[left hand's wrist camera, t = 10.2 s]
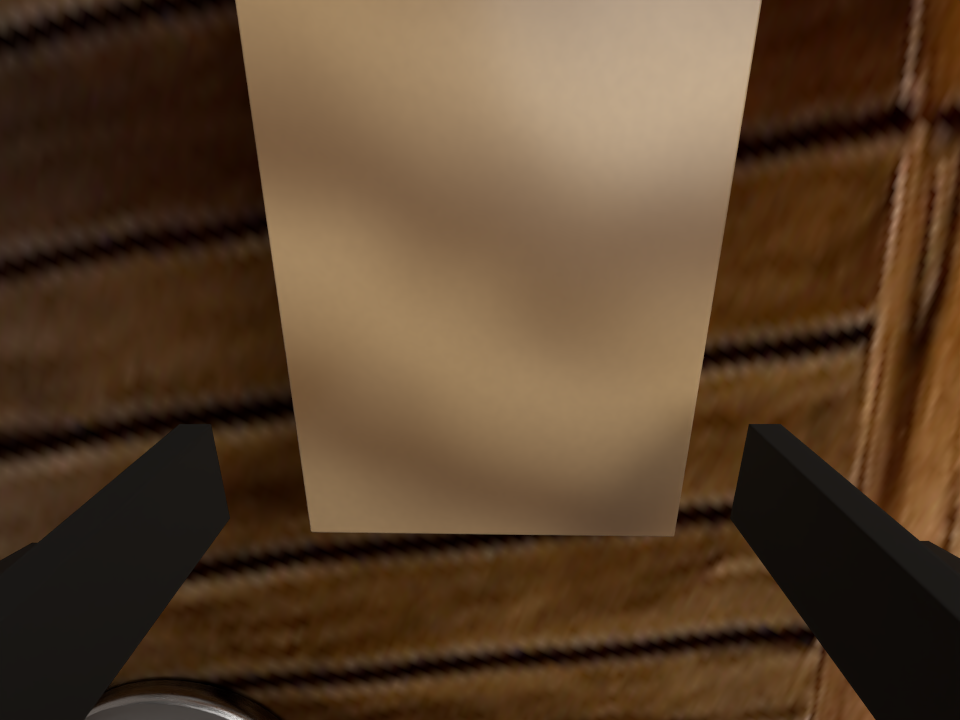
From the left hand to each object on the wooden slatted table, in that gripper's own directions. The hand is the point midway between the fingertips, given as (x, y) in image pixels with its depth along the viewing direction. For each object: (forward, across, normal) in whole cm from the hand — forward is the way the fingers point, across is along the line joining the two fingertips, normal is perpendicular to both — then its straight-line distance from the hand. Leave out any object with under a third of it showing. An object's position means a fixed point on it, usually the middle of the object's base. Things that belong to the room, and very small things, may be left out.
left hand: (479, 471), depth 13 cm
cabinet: (+10, 0, -7) cm, 12 cm away
